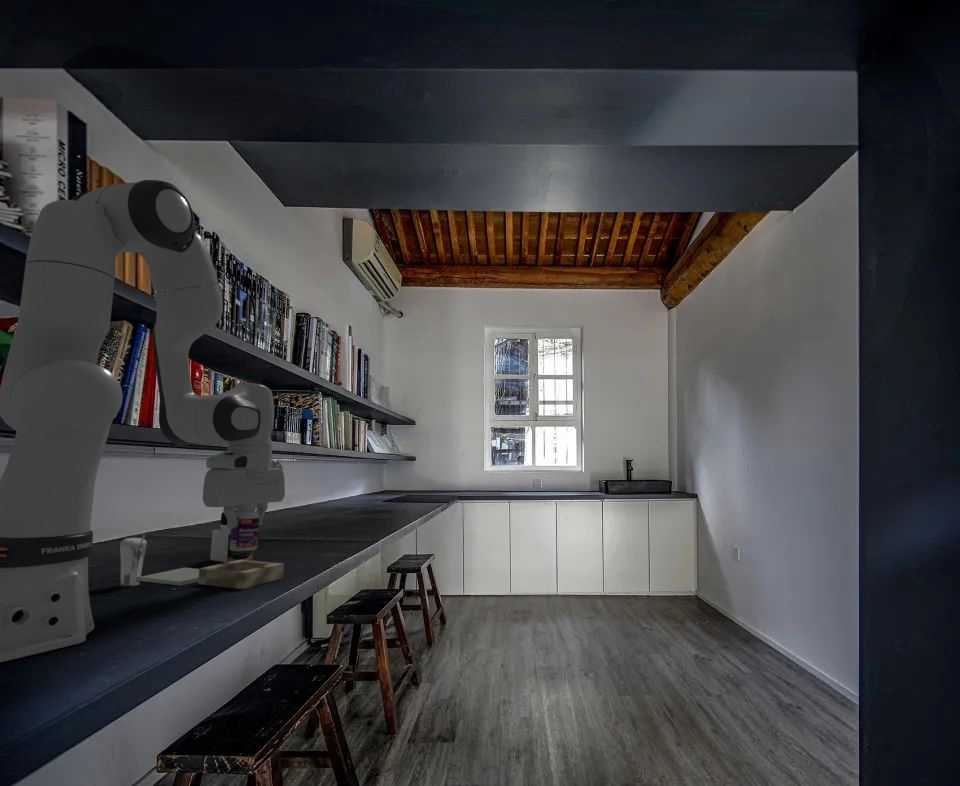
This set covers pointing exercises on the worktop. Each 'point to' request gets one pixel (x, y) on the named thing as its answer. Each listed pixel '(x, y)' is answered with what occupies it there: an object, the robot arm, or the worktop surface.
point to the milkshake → (132, 560)
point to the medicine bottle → (226, 545)
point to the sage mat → (174, 577)
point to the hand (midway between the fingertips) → (245, 526)
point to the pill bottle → (245, 529)
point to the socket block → (241, 574)
